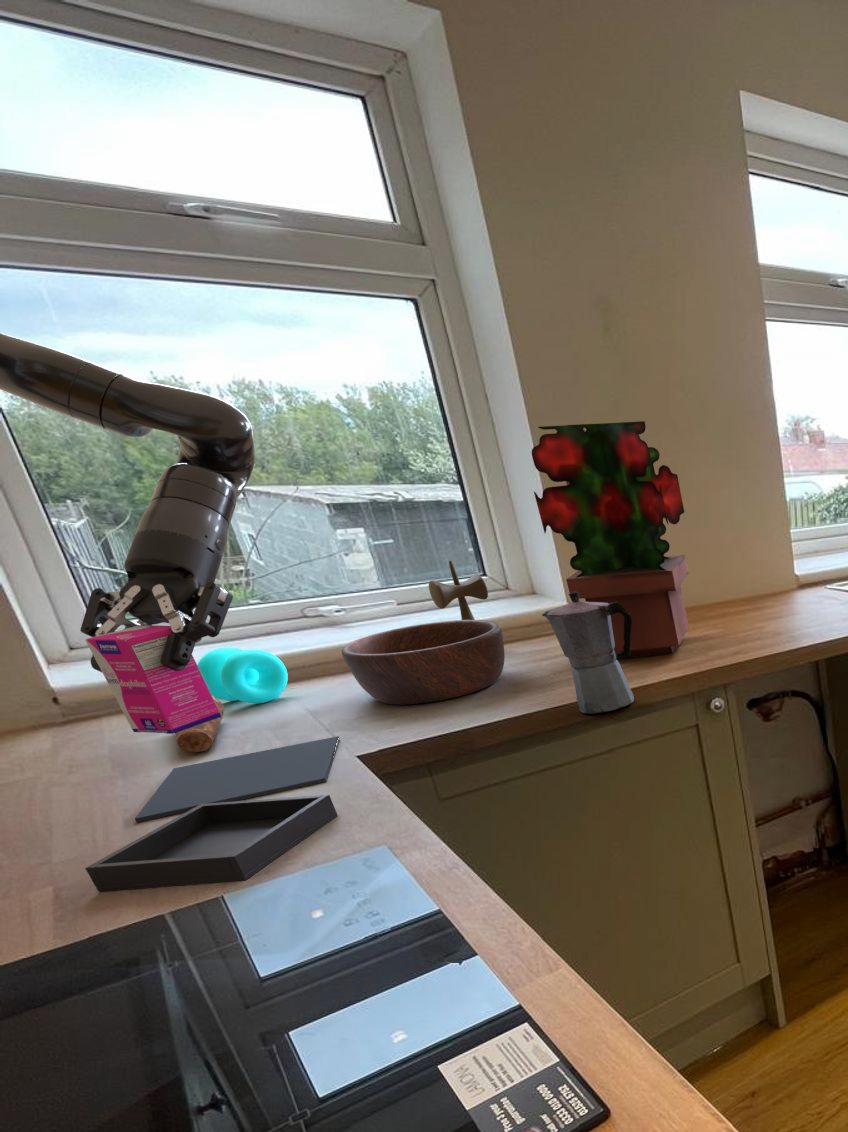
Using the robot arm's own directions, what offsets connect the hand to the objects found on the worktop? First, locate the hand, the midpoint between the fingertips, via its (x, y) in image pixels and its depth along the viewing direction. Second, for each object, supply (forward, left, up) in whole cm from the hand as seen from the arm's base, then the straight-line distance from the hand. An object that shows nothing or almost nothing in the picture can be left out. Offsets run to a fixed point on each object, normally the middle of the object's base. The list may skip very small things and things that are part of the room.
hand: (137, 669), depth 91 cm
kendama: (+30, +80, -22) cm, 88 cm away
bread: (-10, +50, -22) cm, 55 cm away
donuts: (-7, +71, -22) cm, 75 cm away
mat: (-1, +24, -22) cm, 33 cm away
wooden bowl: (+23, +55, -22) cm, 64 cm away
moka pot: (+48, +22, -22) cm, 57 cm away
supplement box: (+1, +1, -8) cm, 8 cm away
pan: (+1, -4, -22) cm, 23 cm away
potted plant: (+61, +57, -22) cm, 87 cm away
